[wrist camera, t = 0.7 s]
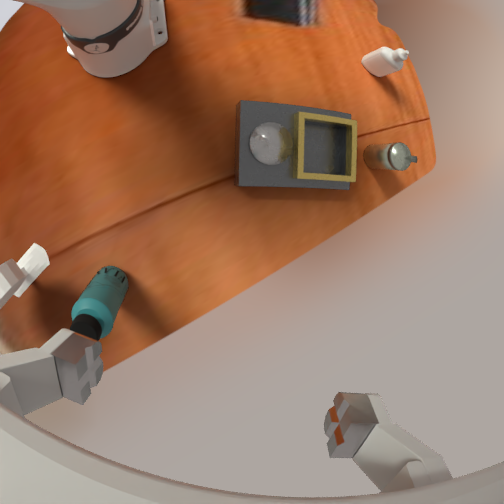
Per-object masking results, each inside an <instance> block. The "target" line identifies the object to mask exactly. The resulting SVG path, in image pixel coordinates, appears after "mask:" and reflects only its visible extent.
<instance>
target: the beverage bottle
mask: <svg viewBox="0 0 504 504" xmlns="http://www.w3.org/2000/svg"><path fill="white" fill-rule="evenodd" d="M99 270H100V269H99ZM127 279H128V278H127V277H126V275H125V273H124V272H123V271H122V270H121V269H119V268H117V267H115V266H107V267H104V268H103V267H102V268H101V270H100V271H98V272H97V274H96V276H95V275H94V278H93V279H92V281H91V282H90V283H89V284H88V285H87V286H88V287H87V288H85V291H84V290H83V291H84V292H83V293H81V294H82V295H81V294H80V298H79V299H78V301H77V302H76V303H75V304H74V306H73V308H72V314H71V315H72V321H73V322H72V325H71V327H70V330H71V331H73V332H76V333H79V334H81V335H84V336H86V337H89V338H92V339H94V340H97V341H98V340H99V339H100V338H103V337H105V336H107V335H108V334H109V333H110V332H111V330H112V328H113V323H114V321H115V318H116V315H117V313H118V310H119V308H120V306H121V304H122V301H123V299H124V296H125V294H126V292H127V289H129V288H128V280H127Z"/></svg>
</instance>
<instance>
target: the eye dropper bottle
mask: <svg viewBox="0 0 504 504" xmlns="http://www.w3.org/2000/svg"><path fill="white" fill-rule="evenodd" d="M408 54H409V52H408V51H407V50H406V51H405V50H403V49H401V48H399V49H397V50H395V51H394V50H392V49H390V48H387V47H381V48H379V49H377V50H375V51H373V52H371V53H369V54H367V55H365V56H364V57H363V59H362V61H361V62H362V64H363V66H364V67H365V68H366V69H367V70H368V71H369V72H370V73H371V74H373V75H375V76H377V77H382V76H385V75H388V74H391V73H394V72H396V71H399V70H401V69H402V67H403V61H404V60H406V59H407V55H408Z"/></svg>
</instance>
